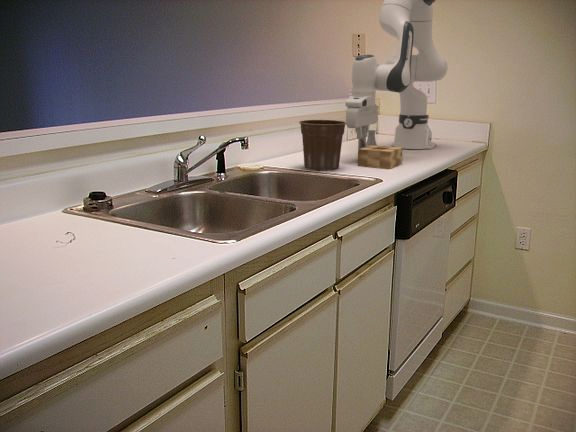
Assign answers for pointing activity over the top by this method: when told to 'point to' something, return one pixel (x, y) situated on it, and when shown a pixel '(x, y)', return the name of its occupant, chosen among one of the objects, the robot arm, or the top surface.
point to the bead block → (380, 156)
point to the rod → (362, 139)
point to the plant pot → (322, 143)
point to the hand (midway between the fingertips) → (362, 137)
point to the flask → (371, 138)
